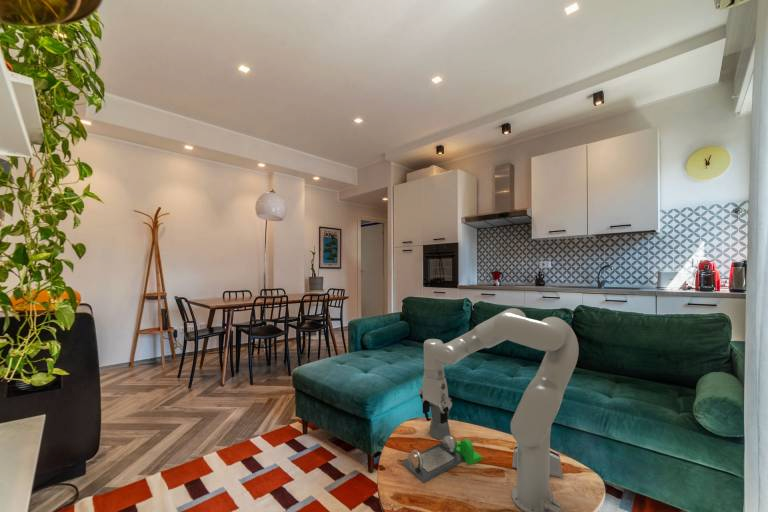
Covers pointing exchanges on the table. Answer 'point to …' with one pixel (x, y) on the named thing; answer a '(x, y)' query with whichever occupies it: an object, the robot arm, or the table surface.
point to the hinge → (554, 463)
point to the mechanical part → (468, 452)
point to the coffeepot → (437, 423)
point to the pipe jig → (434, 459)
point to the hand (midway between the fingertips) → (434, 417)
